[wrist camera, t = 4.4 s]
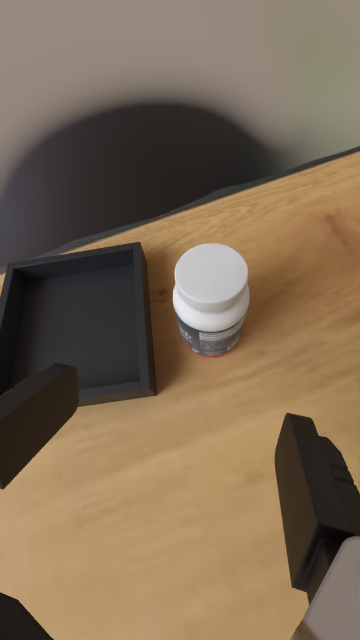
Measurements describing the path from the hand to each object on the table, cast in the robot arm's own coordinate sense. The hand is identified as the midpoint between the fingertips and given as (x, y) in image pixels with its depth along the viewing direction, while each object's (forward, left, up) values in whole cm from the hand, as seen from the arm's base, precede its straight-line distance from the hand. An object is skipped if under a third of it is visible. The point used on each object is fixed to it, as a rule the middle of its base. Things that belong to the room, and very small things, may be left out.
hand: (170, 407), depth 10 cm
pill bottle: (-3, -8, -13) cm, 16 cm away
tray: (+10, -11, -13) cm, 20 cm away
